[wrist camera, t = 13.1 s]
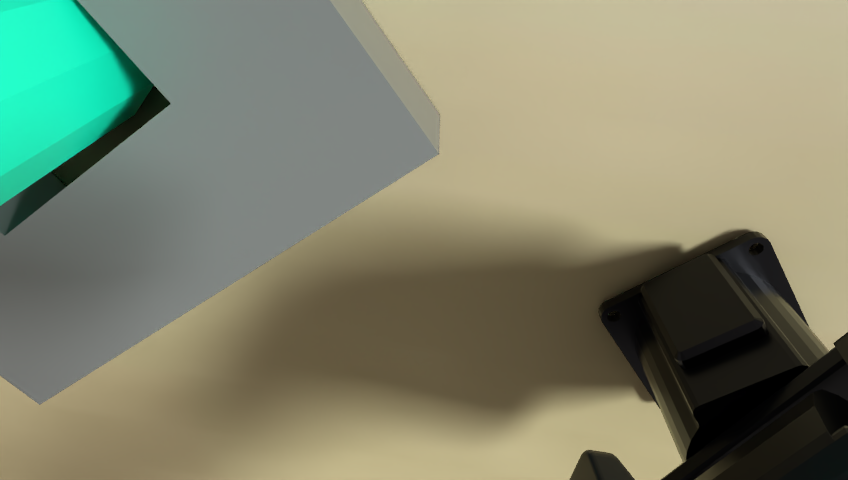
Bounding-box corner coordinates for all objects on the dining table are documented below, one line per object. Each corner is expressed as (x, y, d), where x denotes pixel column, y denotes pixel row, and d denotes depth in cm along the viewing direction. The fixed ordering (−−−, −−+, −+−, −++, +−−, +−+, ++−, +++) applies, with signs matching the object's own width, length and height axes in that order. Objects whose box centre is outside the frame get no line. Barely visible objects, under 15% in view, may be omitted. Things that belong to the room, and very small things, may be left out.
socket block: (439, 114, 19) (439, 153, 16) (89, 343, 25) (39, 404, 22) (-38, -582, 12) (-199, -743, 9) (-381, -43, 18) (-552, -32, 15)
